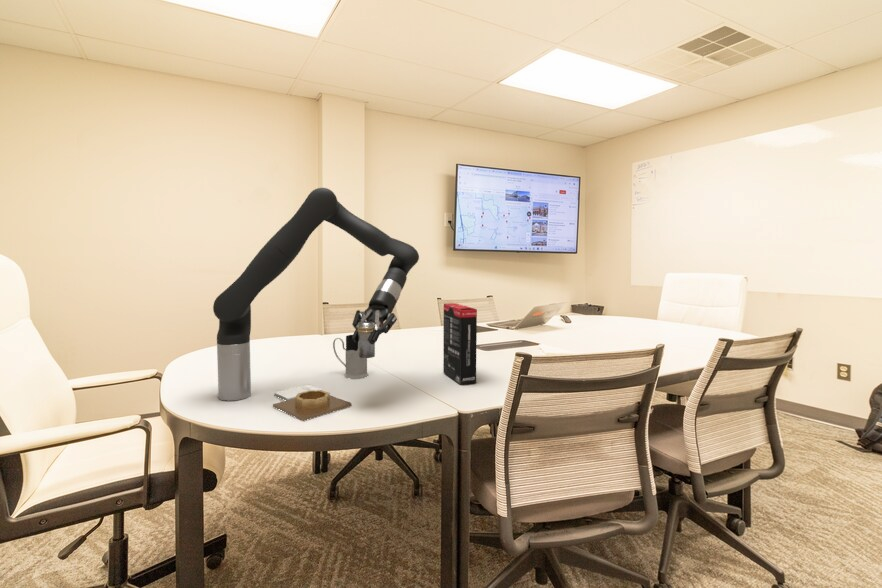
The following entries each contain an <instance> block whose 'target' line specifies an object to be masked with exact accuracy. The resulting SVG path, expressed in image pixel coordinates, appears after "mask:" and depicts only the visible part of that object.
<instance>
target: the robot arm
mask: <svg viewBox="0 0 882 588" xmlns="http://www.w3.org/2000/svg"><path fill="white" fill-rule="evenodd" d="M303 201H304V202H303V203H302V204H301V206H300V207H299V208H298V210H297V211H296V213H295V214H294V215H293V216H292V217H291V218H290V219H289V220H288V221H287V222H286V223H285V224H284V225H282V226H281V228H280V229H279V230H277V232H275V234H273V236H271V238H270V239H269V240H268V241H267V242H266V243H265V245H263V246H262V248H261V249H260V250H259V251H258V252H257V254H256V255H255V256H254V258H253V259H252V260H251V261H250V262H249V264H248V265H247V266H246V268H245V269H244V271H243V272H242V273H241V275H240V276H238V277H237V279H236V280H235V281H233V283H232V284H230V285H229V286H228V287H227V288H226V289H225V290H224V291H223V292H221V293H220V294H219V295H217V297H216V298H215V300H214V302H213V305H212V306H213V307H212V311H213V313H214V316H215V317H216V319H218V320H219V321H218V330H217V334H216V350H217V351H216V352H217V353H216V354H217V355H216V356H217V387H218V390H217V391H218V399H219V400H221V401H225V400H227V401H239V400H240V401H241V400H244V399H246V398H249V397H251V395H252V386H251V385H252V384H251V383H252V379H251V378H252V377H251V375H252V373H251V343H250V342H251V339H250V338H251V332H252V331H251V329H252V306H251V304H252V303H253V302H254V300H255V299H256V297H257V296H258V295H259V294H260V293H261V291H262V290H263V289H265V288H266V287H267V286H268V285H270V284H271V283H272V282H273V281H274V280H275V279H277V277H279V276H280V275H281V274H282V273H283V272H284V271H285V270H286V269H287V268H288V267H289V266H290V265H291V264H292V262H293V261H295V259H296V258H297V256H298V255H299V253H300V252H301V251H302V249H303V248H304V245H305V244H306V242H307V241H308V239H309V238H310V236H311V235H312V233H313V232H314V231H315V230H316V229H317V228H318V227H320V225H321V224H322V223H324V222H327V223H330V224H331V225H334V226H335V227H338V228H339V229H341V230H342V231H344V232H345V233H347V234H348V235H350V236H351V237H353V238H354V239H355V240H357V241H359V243H360V244H362V245H364V247H366V248H368V249H369V250H371V251H372V252H374V253H376V254H377V255H379V256H381V257H386V256H387V255H391V256H393V258H392V259H391V260H390V263H389V265H388V268H387V271H386V272H385V274H384V276H383V278H382V279H381V281H380V283H379V284H378V285H377V288H376V289H375V291H374V293H373V294H372V297H371V298H370V299H369V302H368V307H367V308H366V309H365V310H364V311H361V310H359V309H358V310H356V311H355V314H354V316H353V320H352V326H353V328H354V329H355V330H354V332H353V334H352V335H353V336H352V338H353V340H354V342H358V322H362V321H372V322H375V330H373V332H372V334H371V336H370V338H369V342H370V343H371V344H374V343H375V344H376V343H377V341H378V339H379V337H380V336H381V335H382V334H388V332H389V331H390V330H391V328H392V327H393V326H394V324H395V323H396V322H397V320H398V318H397V315H395V313H394V312H393V310H394V308H395V306H396V304H397V303H398V300H399V299H400V296H401V292H402V291H403V289H404V286H405V284H406V282H407V280H408V279H407V277H408V276H407V275H408V274H409V273H410V271H411V270H412V268H413V267H415V266H416V264H417V263H418V262H419V260H420V255H419V252H418V251H417V249H416V248H415V247H414V246H412V245H411V244H409V243H407V242H405V241H402V240H399V239H396V238H394V237H391V236H389V235H388V234H387V233H385V232H384V231H382V230H381V229H380V228H378V227H377V226H374V225H373V224H371V223H370V222H368V221H366V220H364V219H362V218H361V217H359V216H357V215H355V214H354V213H352V212H351V211H349V210H348V209H347V208H346V207H345V206H343V204H341V202H340V201H339V200H338V198H337V196H336V194H335V192H333V191H332V190H331V189H330V188H328V187H318V188H314V189H313V190H312V191H310V193H309V194H308V195H307V197H306V198H305V200H303Z"/></svg>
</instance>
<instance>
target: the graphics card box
mask: <svg viewBox="0 0 882 588" xmlns="http://www.w3.org/2000/svg"><path fill="white" fill-rule="evenodd" d="M477 311H478V310H477V308H474V307H470V306H466V305H463V304H460V303H453V302H451V303H450V302H448V303H443V341H442V343H443V363H442V365H443V374H445V375H446V376H447V377H449V378H450V379H452V380H453V381H454V382H456V383H457V384H459V385H460V386H465V385H471V384H476V383H477V341H478V340H477V336H478V334H477V333H478V332H477V331H478V329H477V327H478V326H477V325H478V323H477V322H478V321H477V318H478V312H477Z"/></svg>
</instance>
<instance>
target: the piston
mask: <svg viewBox="0 0 882 588" xmlns="http://www.w3.org/2000/svg"><path fill="white" fill-rule="evenodd" d="M373 330H375V322H372V321H362V322H358V357H360V358H367V359H373V358H374V357H376V350H375V349H376V342H375V343H374V344H371V343H370V342H369V338H370V336H371V334H372V332H373Z"/></svg>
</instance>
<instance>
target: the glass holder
mask: <svg viewBox="0 0 882 588" xmlns="http://www.w3.org/2000/svg"><path fill="white" fill-rule="evenodd" d="M352 336H353V334H348V335H345V342H344V340H343V339H342V338H341V337H336V338H335V339H334V340H333V342H332V348H333V352H334V354H335V357H336V358H337V359H338V361H339V362H340V363H341V364H342V365H343V366H344V367H345V374H344V376H345V377H346V378H345V377H344V378H345V379H348V378H350V379H351V380H362V379H365V377H366V378H367V376H368V377H369V373H368V358H360V357H358V342H354V340H353V338H352ZM337 340H339V341H341V343H342V344H341V345H342V349H343V350H344V351H345V363H344V361H342V360H341V358H340V356H339V355H338V353H337V350H336V344H335V342H336V341H337ZM361 378H362V379H361Z"/></svg>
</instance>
